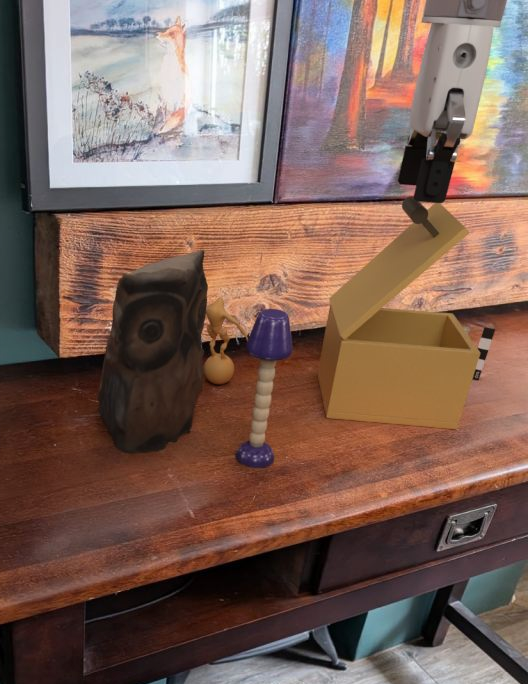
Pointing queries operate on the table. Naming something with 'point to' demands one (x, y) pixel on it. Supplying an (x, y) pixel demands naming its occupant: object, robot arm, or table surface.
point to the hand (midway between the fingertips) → (419, 192)
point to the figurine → (221, 365)
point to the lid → (396, 264)
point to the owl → (155, 354)
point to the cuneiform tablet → (481, 348)
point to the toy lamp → (265, 381)
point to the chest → (398, 369)
